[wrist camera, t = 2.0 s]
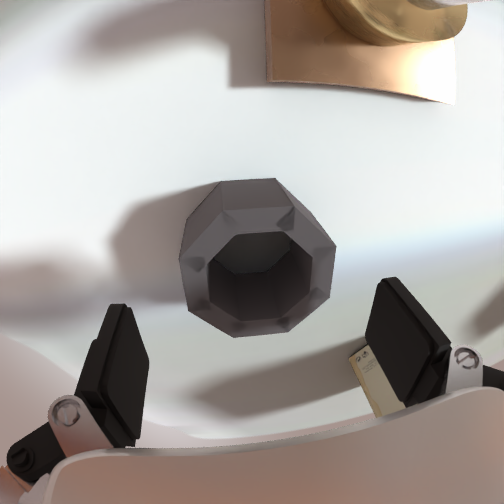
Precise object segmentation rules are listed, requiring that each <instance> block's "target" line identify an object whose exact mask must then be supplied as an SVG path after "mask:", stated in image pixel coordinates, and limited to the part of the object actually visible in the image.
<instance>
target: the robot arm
mask: <svg viewBox="0 0 504 504" xmlns="http://www.w3.org/2000/svg"><path fill="white" fill-rule="evenodd" d="M365 338H366V341H367V343H368V345H369V347H370V349H371V350H372V352H373V354H374V356H375V358H376V359H377V361H378V363H379V365H380V367H381V368H382V370H383V372H384V374H385V376H386V378H387V379H388V381H389V383H390V385H391V387H392V389H393V391H394V393H395V394H396V396H397V398H398V400H399V401H400V402H403V404H404V405H405V407H406V408H405V409H402V410H399V411H397V412H394V413H390V414H387V415H384V416H381V417H378V418H374V419H371V420H367V421H364V422H360V423H356V424H353V425H349V426H345V427H341V428H337V429H333V430H328V431H324V432H319V433H315V434H309V435H304V436H299V437H293V438H287V439H281V440H274V441H267V442H260V443H251V444H242V445H232V446H219V447H203V448H164V449H163V448H159V449H158V448H125V446H131V447H135V442H136V439H139V438H140V434H141V424H142V416H143V408H144V399H145V392H146V384H147V377H148V371H149V358H148V355H147V352H146V350H145V347H144V344H143V341H142V338H141V335H140V333H139V330H138V327H137V324H136V321H135V318H134V314H133V311H132V309H131V307H127V306H126V304H111V305H110V306H109V308H108V310H107V313H106V315H105V318H104V321H103V323H102V326H101V329H100V331H99V334H98V337H97V339H95V340H93V341H92V343H91V346H90V349H89V351H88V354H87V357H86V360H85V363H84V366H83V369H82V372H81V375H80V378H79V381H78V384H77V388H76V391H75V394H74V396H73V395H66V396H62V397H60V398H58V399H56V400H55V401H54V402H53V403H52V404H51V406H50V408H49V410H48V420H49V422H47V423H46V424H44V425H42V426H41V427H40V428H38V429H36V430H35V431H33V432H32V433H30V434H28V435H27V436H25V437H24V438H22V439H21V440H19V441H18V442H16V443H14V444H13V445H12V446H11V447H10V449H9V451H8V453H7V464H8V465H7V466H6V467H4V466H1V468H0V504H504V372H503V371H500V370H497V369H494V368H491V367H488V366H485V365H483V360H482V357H481V355H480V353H479V352H478V351H477V350H476V349H474V348H473V347H471V346H468V345H457V346H455V347H454V348H453V349H452V348H451V346H450V344H451V341H450V340H449V339H448V338H447V336H446V335H445V334H444V333H443V331H442V330H441V329H440V328H439V326H438V325H437V324H436V323H435V321H434V320H433V319H432V318H431V316H430V315H429V314H428V313H427V312H426V310H425V309H424V308H423V307H422V306H421V304H420V303H419V302H418V301H417V300H416V299H415V297H414V296H413V295H412V294H411V293H410V292H409V291H408V289H407V288H406V287H405V286H404V285H403V284H402V283H401V281H400V280H399V279H398V278H397V277H390V278H383V279H382V280H381V282H380V283H378V285H377V288H376V293H375V297H374V301H373V305H372V309H371V313H370V317H369V321H368V325H367V329H366V332H365ZM417 403H418V404H417ZM416 404H417V405H416ZM413 405H414V406H413Z"/></svg>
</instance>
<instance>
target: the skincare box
mask: <svg viewBox="0 0 504 504" xmlns="http://www.w3.org/2000/svg"><path fill="white" fill-rule="evenodd" d="M349 361H350V363H351V365H352V368H353V370H354V372H355V374H356V376H357V378H358V380H359V382H360V384H361V386H362V388H363V391H364V393H365V395H366V397H367V399H368V401H369V403H370V406H371V408H372V410H373V412H374V414H375V416H376V418H378V417H381V416H384V415H387V414H390V413H394V412H397V411H399V410H402V409H405V408H406V407H405V405H404V404H403V402H400V401H399V400H398V398H397V396H396V394H395V393H394V391H393V389H392V387H391V385H390V383H389V381H388V379H387V378H386V376H385V374H384V372H383V370H382V368H381V367H380V365H379V363H378V361H377V359H376V358H375V356H374V354H373V352H372V350H371V349H370V347H369V345H367V346H366V347H364V348H363V349H361V350H360V351H359V352H357V353H356V354H354V355H353V356H351V357H350V358H349ZM417 404H418V403H417ZM417 404H416V405H417ZM413 406H414V405H413Z"/></svg>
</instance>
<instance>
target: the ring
mask: <svg viewBox="0 0 504 504" xmlns="http://www.w3.org/2000/svg"><path fill="white" fill-rule="evenodd" d="M276 231H284V232H285V233H286V234H287V235H288V236H289V237H290V238H291V240H290V251H289V252H288V253H286V254H285V255H284V256H283V257H282V258H281V259H280V260H279V261H278V262H277V263H276V264H275V265H274V266H273V267H272V268H271V269H269V270H268V271H267V272H257V273H245V274H234V273H233V272H231V271H230V270H228V269H227V268H226V267H224V266H223V265H221V264H220V263H219V262H217V261H216V260H215V259H213V257H214V256H215V255H216V254H217V253H218V252H219V251H220V250H221V249H222V248H223V247H224V246H225V245H226V244H227V243H228V242H229V241H230V240H231V239H232V238H233V237H234V236H235V235H236V234H248V233H262V232H276ZM335 252H336V245H335V244H334V242H333V241H332V240H331V238H330V237H329V236H328V234H327V233H326V232H325V230H324V229H323V228H322V226H321V225H320V224H319V222H318V221H317V220H316V218H315V217H314V216H313V215H312V213H311V212H310V211H309V210H308V209H307V208H306V207H305V206H304V205H303V204H302V203H301V202H300V201H298V200H297V199H296V198H295V197H294V196H293V195H292V194H291V193H290V192H289V191H288V190H287V189H286V188H285V187H284V186H283V185H282V184H280V183H279V182H278V181H277V180H276V178H270V179H250V180H234V181H221V182H220V183H219V184H218V185H217V186H216V187H215V189H214V190H213V191H212V192H211V193H210V194H209V195H208V196H207V197H206V199H205V200H204V201H203V202H202V203H201V204H200V205H199V206H198V208H197V209H196V210H195V211H194V212H193V213H192V214H191V215H190V217H189V218H188V219H187V220H186V225H185V230H184V235H183V240H182V245H181V250H180V255H179V262H180V268H181V274H182V279H183V285H184V290H185V296H186V301H187V306H188V311H189V312H191V313H193V314H194V315H196V316H198V317H199V318H201V319H202V320H204V321H206V322H207V323H209V324H211V325H212V326H214V327H216V328H218V329H219V330H221V331H223V332H224V333H226V334H228V335H230V336H231V337H233V338H236V337H247V336H257V335H267V334H276V333H285V332H289V331H290V330H291V329H293V328H294V327H295V326H296V325H297V324H299V323H300V322H301V321H302V320H304V319H305V318H306V317H307V316H308V315H310V314H311V313H312V312H313V311H314V310H316V309H317V308H318V307H319V306H320V305H321V304H323V303H324V302H325V301H326V300H327V299H328V298H330V290H331V283H332V276H333V268H334V261H335Z"/></svg>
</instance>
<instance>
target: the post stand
mask: <svg viewBox="0 0 504 504" xmlns="http://www.w3.org/2000/svg"><path fill="white" fill-rule="evenodd" d="M483 1H491V0H264V6H265V34H266V69H267V82H289V83H312V84H326V85H338V86H348V87H357V88H365V89H372V90H379V91H385V92H391V93H397V94H403V95H408V96H413V97H418V98H423V99H427V100H431V101H436V102H441V103H447V104H453V105H454V97H455V58H454V38H453V37H454V36H456V35H457V34H458V33H459V32H460V31H461V30H462V28H463V26H464V25H465V22H466V18H467V4H468V3H475V2H483Z"/></svg>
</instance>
